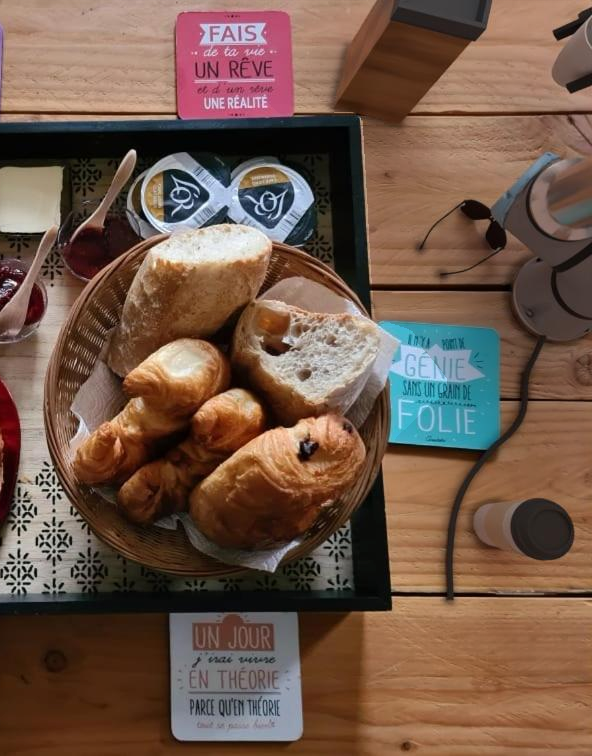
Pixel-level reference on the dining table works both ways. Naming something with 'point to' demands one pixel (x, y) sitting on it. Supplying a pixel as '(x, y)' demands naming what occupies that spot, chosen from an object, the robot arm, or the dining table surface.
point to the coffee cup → (526, 528)
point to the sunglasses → (493, 234)
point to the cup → (575, 56)
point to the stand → (393, 65)
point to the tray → (445, 16)
